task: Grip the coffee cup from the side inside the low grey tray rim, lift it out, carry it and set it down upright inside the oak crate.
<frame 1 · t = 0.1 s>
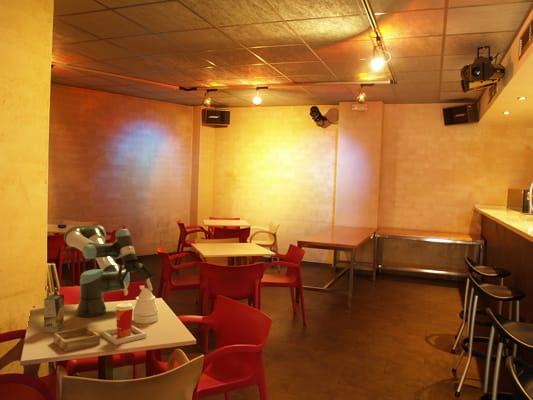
hand: (139, 292, 234), 15 cm above the table, tool tilted 35°, fingers open, 13 cm apart
crate: (76, 342, 203), on the table
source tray: (124, 336, 213), on the table
coffee cup: (124, 337, 213), resting in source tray
coffee box: (54, 329, 220), on the table
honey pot: (146, 319, 239), on the table, touching gripper
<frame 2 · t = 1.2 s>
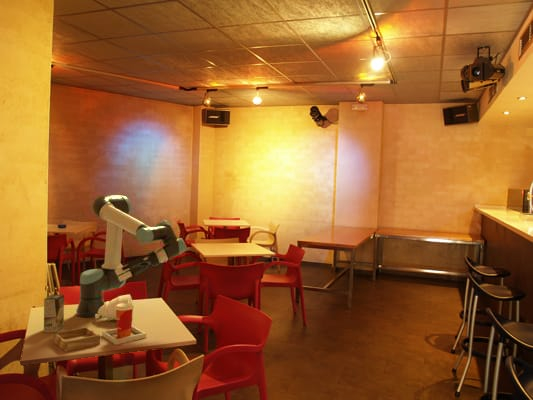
hand: (117, 276, 225), 26 cm above the table, tool tilted 65°, fingers open, 13 cm apart
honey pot: (131, 306, 238), point 7 cm above the table
everything else where it was.
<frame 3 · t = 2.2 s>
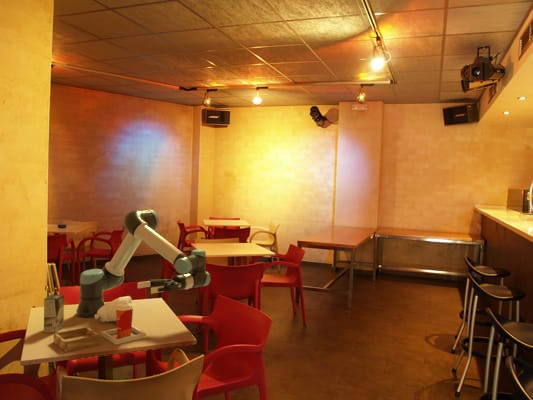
hand: (144, 288, 218), 22 cm above the table, tool horizontal, fingers open, 13 cm apart
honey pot: (130, 308, 235), point 7 cm above the table
everything else where it was.
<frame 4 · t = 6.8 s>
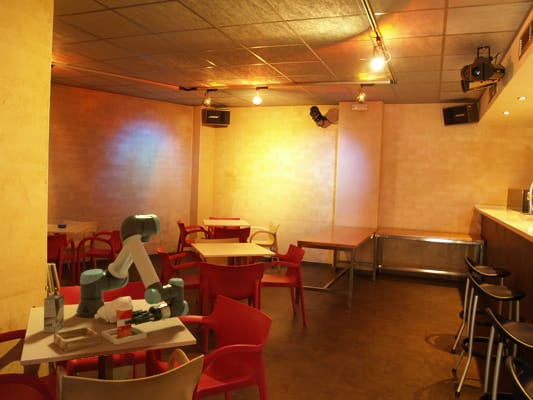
hand: (114, 321, 209), 8 cm above the table, tool horizontal, fingers closed on coffee cup, 7 cm apart
coffee cup: (124, 336, 213), resting in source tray, touching gripper
everything else where it was.
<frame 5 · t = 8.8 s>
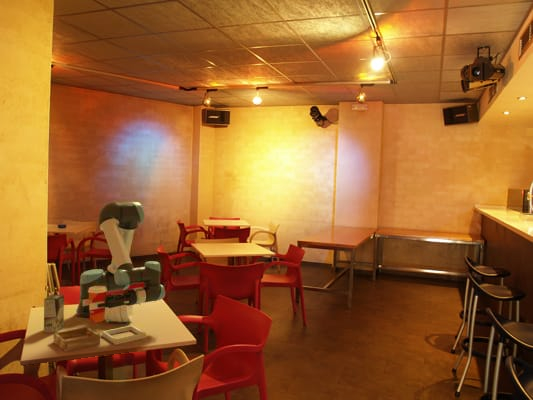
hand: (86, 304, 201), 18 cm above the table, tool horizontal, fingers closed on coffee cup, 7 cm apart
coffee cup: (97, 320, 205), point 10 cm above the table, touching gripper
everything else where it was.
when the fingers open (10 cm above the table, at t = 11.2 s): coffee cup stays where it is, resting on crate.
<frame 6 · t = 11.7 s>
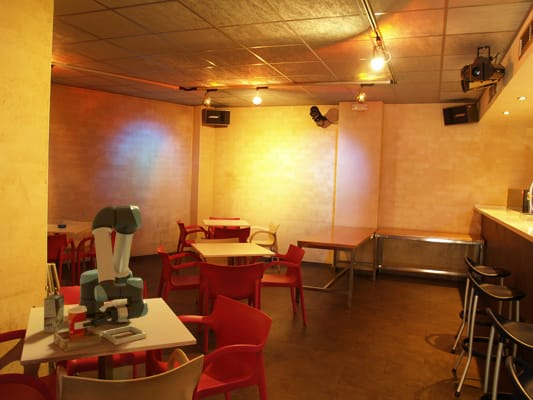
hand: (69, 322, 200), 10 cm above the table, tool horizontal, fingers open, 13 cm apart
coffee cup: (76, 341, 203), point 1 cm above the table, touching crate
everything else where it was.
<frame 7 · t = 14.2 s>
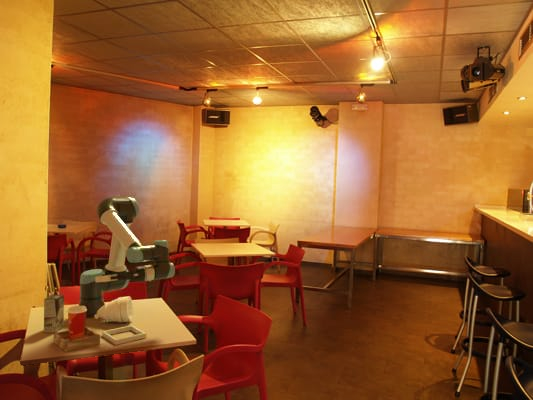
hand: (98, 279, 212), 27 cm above the table, tool horizontal, fingers open, 13 cm apart
nothing on the table moved.
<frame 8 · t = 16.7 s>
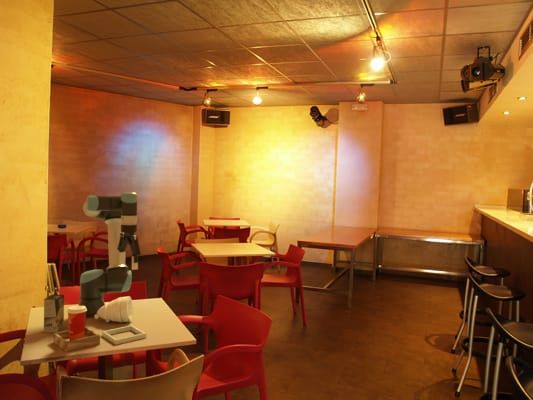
hand: (128, 267, 222), 31 cm above the table, tool pointing down, fingers open, 13 cm apart
nothing on the table moved.
at the end: coffee cup inside the target area on the crate (0.1 cm from its centre), point 0.8 cm above the crate's base; coffee cup tilted 0°; the gripper is holding nothing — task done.
